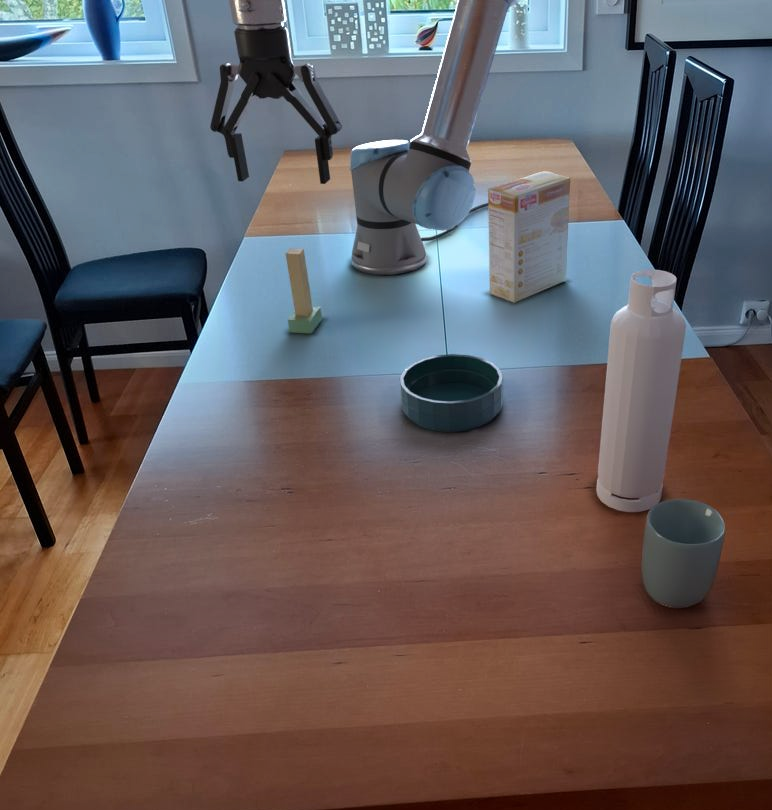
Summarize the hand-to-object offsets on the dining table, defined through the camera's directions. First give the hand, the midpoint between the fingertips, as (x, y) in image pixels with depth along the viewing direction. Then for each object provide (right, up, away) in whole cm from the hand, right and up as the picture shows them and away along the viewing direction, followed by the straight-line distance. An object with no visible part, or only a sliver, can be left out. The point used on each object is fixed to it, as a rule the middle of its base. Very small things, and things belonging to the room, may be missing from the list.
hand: (284, 180), depth 128 cm
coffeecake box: (+40, -10, +27) cm, 50 cm away
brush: (0, -20, +15) cm, 25 cm away
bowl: (+27, -37, -9) cm, 47 cm away
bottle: (+50, -50, -26) cm, 76 cm away
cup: (+52, -62, -41) cm, 90 cm away
